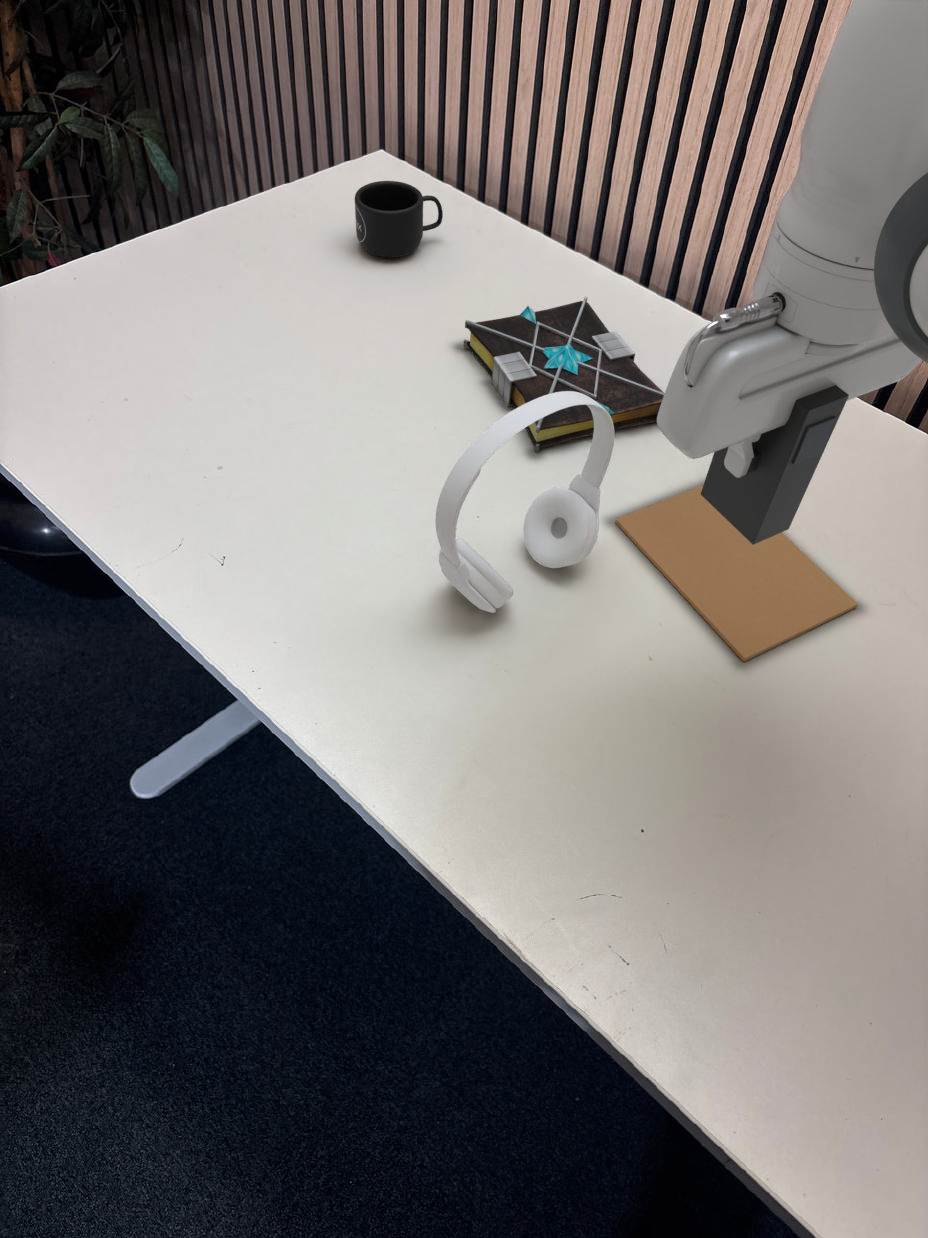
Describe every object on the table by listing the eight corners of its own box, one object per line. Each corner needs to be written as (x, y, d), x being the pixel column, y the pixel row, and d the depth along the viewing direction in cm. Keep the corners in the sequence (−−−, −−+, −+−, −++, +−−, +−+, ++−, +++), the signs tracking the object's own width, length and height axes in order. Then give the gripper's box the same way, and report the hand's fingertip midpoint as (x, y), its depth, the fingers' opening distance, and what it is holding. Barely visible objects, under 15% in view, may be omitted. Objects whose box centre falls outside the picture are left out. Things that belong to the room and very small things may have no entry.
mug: (366, 268, 122) (364, 216, 116) (349, 235, 127) (346, 183, 121) (452, 256, 124) (453, 205, 119) (432, 224, 130) (432, 173, 124)
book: (670, 423, 103) (680, 386, 99) (535, 455, 99) (540, 418, 95) (583, 320, 116) (589, 284, 112) (460, 345, 111) (462, 308, 107)
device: (790, 530, 67) (851, 396, 58) (754, 546, 66) (810, 411, 56) (735, 480, 70) (784, 345, 61) (700, 494, 69) (744, 358, 60)
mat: (856, 607, 87) (858, 604, 86) (743, 662, 82) (745, 658, 82) (721, 480, 98) (722, 476, 97) (614, 522, 93) (615, 518, 92)
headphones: (610, 559, 89) (651, 390, 74) (464, 647, 82) (475, 478, 66) (561, 517, 93) (591, 347, 77) (416, 598, 85) (416, 427, 70)
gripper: (736, 351, 48) (677, 536, 59) (993, 263, 55) (899, 442, 66) (662, 292, 51) (619, 477, 62) (914, 216, 59) (836, 394, 69)
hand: (765, 458), depth 64 cm, fingers closed on device, 3 cm apart
